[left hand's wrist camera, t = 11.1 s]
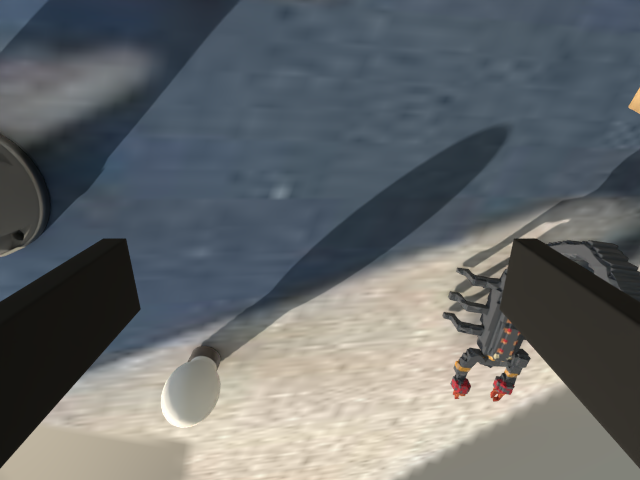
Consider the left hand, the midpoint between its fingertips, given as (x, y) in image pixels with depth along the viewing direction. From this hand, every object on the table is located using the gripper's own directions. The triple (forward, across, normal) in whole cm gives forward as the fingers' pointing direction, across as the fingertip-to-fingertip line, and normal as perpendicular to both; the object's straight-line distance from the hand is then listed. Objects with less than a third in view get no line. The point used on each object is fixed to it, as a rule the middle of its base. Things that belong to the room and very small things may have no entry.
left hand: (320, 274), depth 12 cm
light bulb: (+31, -16, -28) cm, 45 cm away
